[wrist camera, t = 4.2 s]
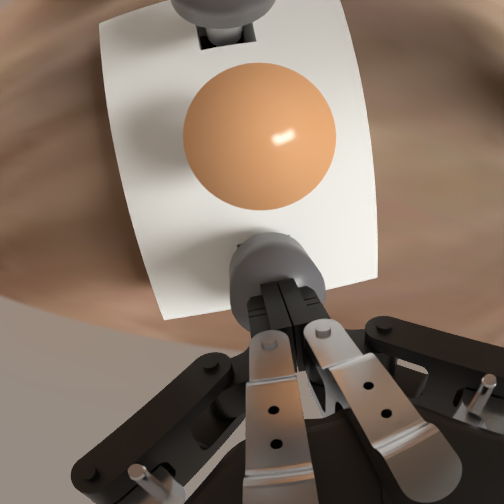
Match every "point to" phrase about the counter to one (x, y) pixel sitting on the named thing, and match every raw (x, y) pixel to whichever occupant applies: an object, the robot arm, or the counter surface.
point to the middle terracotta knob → (259, 136)
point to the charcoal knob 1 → (222, 16)
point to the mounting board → (182, 177)
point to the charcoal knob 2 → (269, 270)
